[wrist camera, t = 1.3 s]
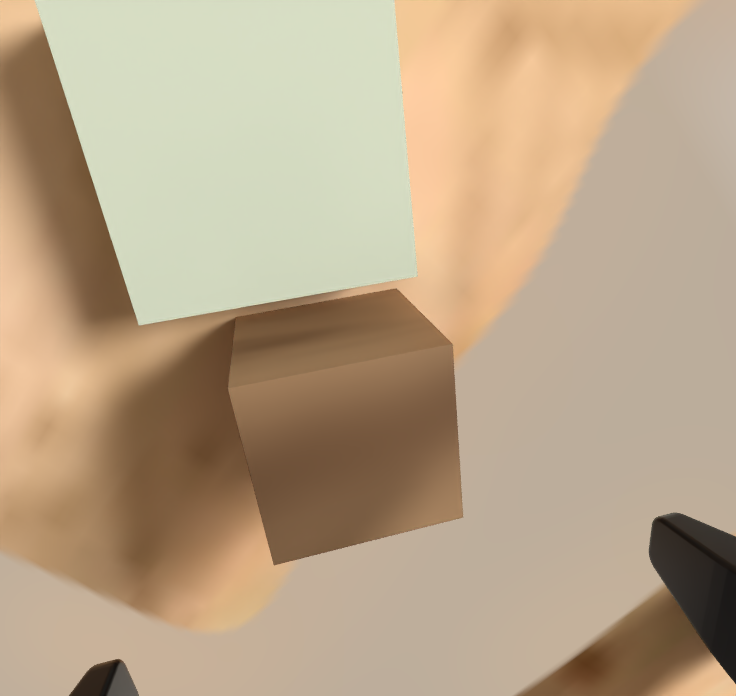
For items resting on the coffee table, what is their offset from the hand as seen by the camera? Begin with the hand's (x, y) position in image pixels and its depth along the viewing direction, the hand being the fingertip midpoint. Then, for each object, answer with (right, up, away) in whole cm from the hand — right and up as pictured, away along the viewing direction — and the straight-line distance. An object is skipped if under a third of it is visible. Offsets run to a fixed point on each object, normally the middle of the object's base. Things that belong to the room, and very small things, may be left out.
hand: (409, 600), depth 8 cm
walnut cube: (-2, +3, +8) cm, 9 cm away
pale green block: (-4, +9, +5) cm, 11 cm away
